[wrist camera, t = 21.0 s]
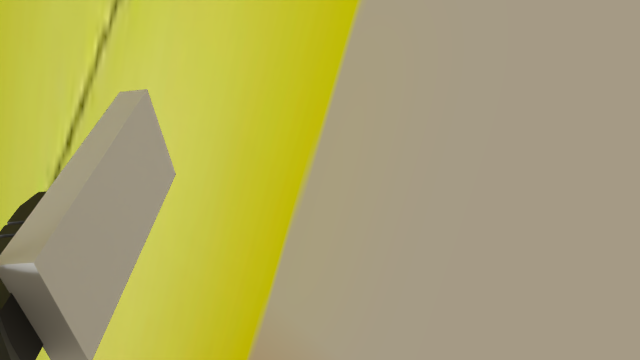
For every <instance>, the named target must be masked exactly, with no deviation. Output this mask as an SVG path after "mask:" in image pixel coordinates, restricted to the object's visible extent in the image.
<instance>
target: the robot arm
mask: <svg viewBox="0 0 640 360" xmlns="http://www.w3.org/2000/svg"><path fill="white" fill-rule="evenodd" d="M175 175H176V174H175V171H174V168H173V165H172V162H171V159H170V156H169V153H168V150H167V147H166V144H165V141H164V138H163V135H162V132H161V129H160V126H159V123H158V120H157V117H156V114H155V111H154V108H153V105H152V102H151V99H150V96H149V93H148V90H147V89H145V90H135V91H125V92H119V94H118V95H117V97H116V98H115V99H114V101H113V102H112V103H111V105H110V106H109V107H108V109H107V110H106V112H105V113H104V114H103V116H102V117H101V118H100V120H99V121H98V122H97V124H96V125H95V126H94V128H93V129H92V131H91V132H90V133H89V135H88V136H87V137H86V139H85V140H84V141H83V143H82V144H81V146H80V147H79V148H78V150H77V151H76V152H75V154H74V155H73V156H72V158H71V159H70V161H69V162H68V163H67V165H66V166H65V167H64V169H63V170H62V171H61V173H60V174H59V176H58V177H57V178H56V180H55V181H54V182H53V184H52V185H51V186H50V188H49V189H48V191H47V192H38V193H37V194H35V195H34V196H33V197H31V198H30V199H29V200H28V201H26V202H25V203H24V204H22V205H21V206H20V207H19V208H18V209H17V210H16V212H15V213H14V214H13V216H12V217H11V218H10V220H9V221H8V222H7V223H8V225H5V226H4V227H3V229H2V230H1V231H0V360H36V358H37V356H38V354H39V352H40V350H41V349H42V347H43V348H44V349H45V351H46V353H47V354H48V356H49V358H50V359H51V360H92V359H93V357H94V355H95V353H96V350H97V348H98V346H99V344H100V341H101V339H102V337H103V335H104V333H105V330H106V328H107V326H108V324H109V322H110V319H111V317H112V315H113V313H114V310H115V308H116V306H117V304H118V302H119V299H120V297H121V295H122V293H123V290H124V288H125V286H126V284H127V282H128V279H129V277H130V275H131V273H132V270H133V268H134V266H135V264H136V262H137V259H138V257H139V255H140V253H141V250H142V248H143V246H144V244H145V242H146V239H147V237H148V235H149V233H150V230H151V228H152V226H153V224H154V222H155V219H156V217H157V215H158V213H159V210H160V208H161V206H162V204H163V202H164V199H165V197H166V195H167V193H168V190H169V188H170V186H171V184H172V182H173V179H174V177H175Z"/></svg>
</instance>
